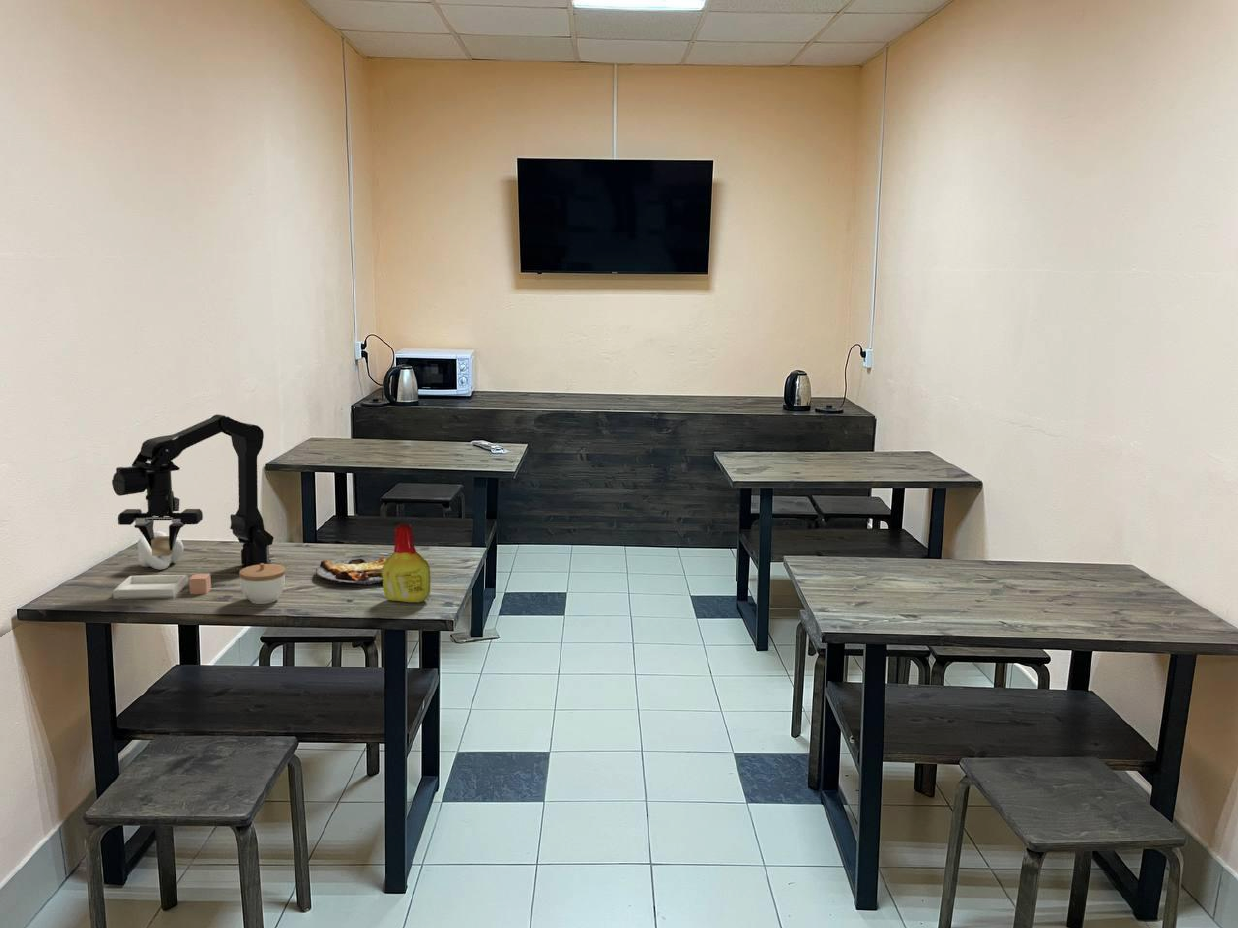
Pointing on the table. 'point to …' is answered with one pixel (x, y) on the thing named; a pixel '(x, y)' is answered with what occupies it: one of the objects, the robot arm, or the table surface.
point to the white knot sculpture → (157, 561)
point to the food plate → (353, 569)
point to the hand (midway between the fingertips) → (162, 549)
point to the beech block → (161, 546)
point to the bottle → (405, 570)
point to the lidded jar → (262, 582)
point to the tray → (150, 587)
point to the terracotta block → (200, 584)
